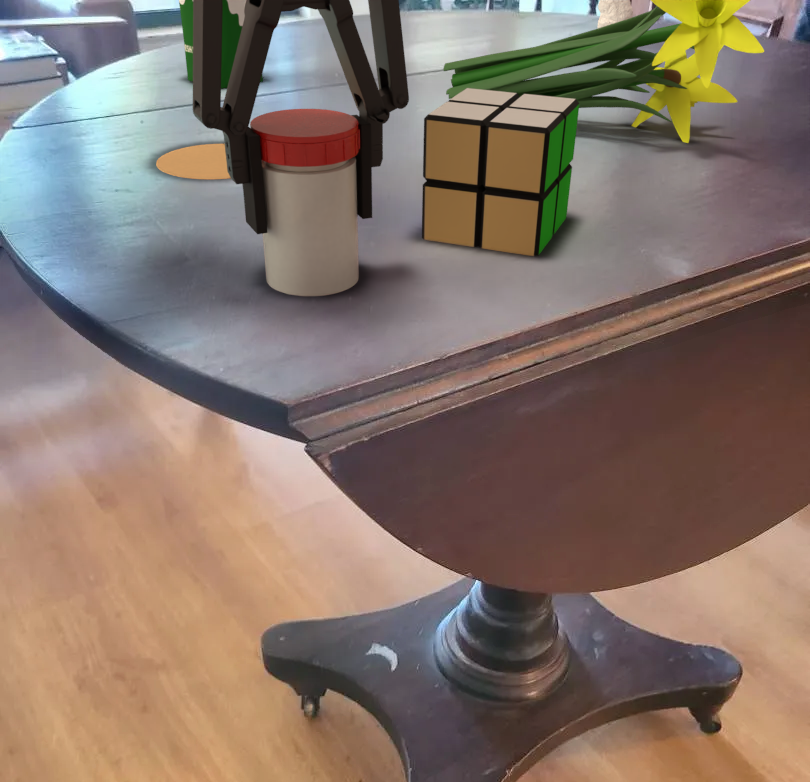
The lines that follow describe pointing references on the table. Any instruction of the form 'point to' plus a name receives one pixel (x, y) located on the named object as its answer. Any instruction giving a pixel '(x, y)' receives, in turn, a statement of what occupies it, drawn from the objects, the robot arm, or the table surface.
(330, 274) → the jar
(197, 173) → the coaster
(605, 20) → the koala figurine
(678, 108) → the daffodil flowers
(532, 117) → the puzzle cube
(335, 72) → the table surface
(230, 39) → the milk carton
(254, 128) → the lid
